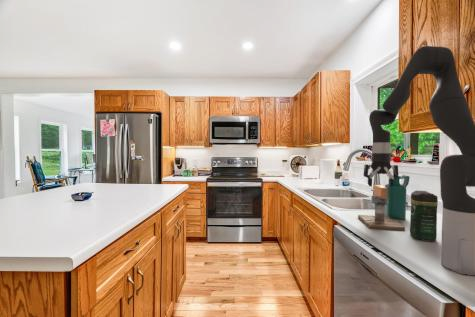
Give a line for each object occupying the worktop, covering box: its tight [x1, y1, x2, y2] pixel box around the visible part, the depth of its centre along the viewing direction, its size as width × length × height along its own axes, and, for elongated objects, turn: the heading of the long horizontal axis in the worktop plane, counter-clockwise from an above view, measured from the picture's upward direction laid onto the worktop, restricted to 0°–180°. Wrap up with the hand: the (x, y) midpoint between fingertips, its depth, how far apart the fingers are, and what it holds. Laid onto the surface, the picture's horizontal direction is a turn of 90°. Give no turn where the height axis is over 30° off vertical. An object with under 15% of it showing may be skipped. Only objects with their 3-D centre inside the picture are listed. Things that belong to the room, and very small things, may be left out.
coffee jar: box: [409, 190, 439, 242], centre depth 97 cm, size 10×8×19 cm
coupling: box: [371, 184, 389, 205], centre depth 116 cm, size 10×7×8 cm
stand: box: [357, 204, 406, 231], centre depth 116 cm, size 18×14×10 cm
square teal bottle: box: [384, 174, 410, 220], centre depth 128 cm, size 10×8×22 cm
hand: (380, 186), depth 116 cm, fingers open, 8 cm apart
